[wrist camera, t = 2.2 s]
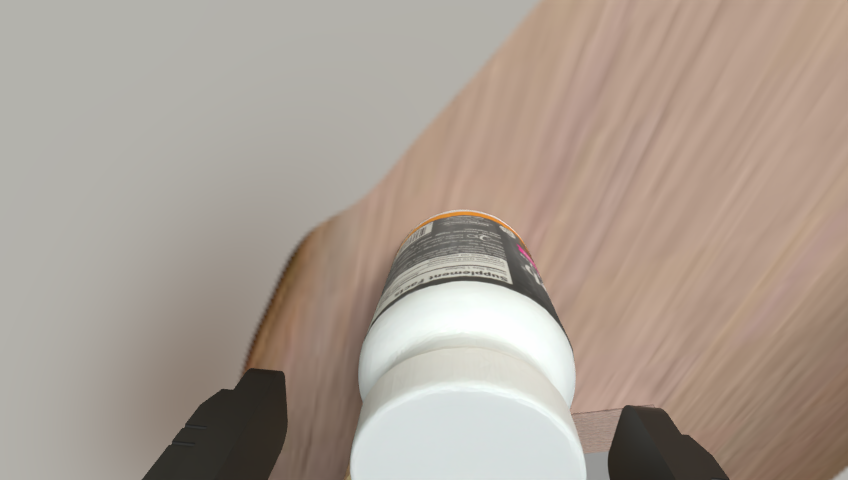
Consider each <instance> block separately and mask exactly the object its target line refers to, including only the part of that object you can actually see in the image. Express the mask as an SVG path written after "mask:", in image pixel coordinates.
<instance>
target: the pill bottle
mask: <svg viewBox="0 0 848 480" xmlns="http://www.w3.org/2000/svg"><path fill="white" fill-rule="evenodd" d="M575 379H576V374H575V364H574V355H573V349H572V346H571V344H570V341H569V339H568V337H567V334H566V333H565V330H564V328H563V326H562V324H561V322H560V320H559V318H558V316H557V314H556V312H555V309H554V307H553V305H552V303H551V300H550V298H549V295H548V293H547V291H546V289H545V287H544V284H543V282H542V280H541V277H540V275H539V272H538V270H537V268H536V266H535V264H534V261H533V259H532V257H531V255H530V253H529V251H528V249H527V247H526V245H525V244H524V242H523V241H522V239H521V238H520V236H519V235H518V234H517V233H516V232H515V231H514V230H513V229H512V228H511V227H510V226H509V225H507V224H506V223H505V222H503V221H502V220H500V219H498V218H497V217H495V216H492V215H489V214H487V213H484V212H479V211H474V210H452V211H447V212H444V213H440V214H437V215H434V216H432V217H430V218H428V219H426V220H425V221H423V222H422V223H420V224H419V225H418V226H417V227H415V228H414V229H413V230H412V231H411V232H410V233H409V235H408V236H407V237H406V238H405V240H404V241H403V243H402V245H401V246H400V248H399V250H398V252H397V254H396V257H395V259H394V262H393V264H392V267H391V270H390V273H389V275H388V278H387V280H386V284H385V287H384V289H383V292H382V295H381V298H380V300H379V303H378V305H377V308H376V311H375V313H374V316H373V319H372V321H371V324H370V326H369V329H368V331H367V334H366V336H365V339H364V342H363V345H362V348H361V352H360V359H359V370H358V380H359V390H360V394H361V398H362V401H363V405H362V408H361V412H360V416H359V420H358V424H357V428H356V432H355V435H354V439H353V443H352V448H351V455H350V476H351V480H586V477H587V473H586V462H585V458H584V453H583V449H582V446H581V442H580V439H579V436H578V433H577V430H576V427H575V424H574V421H573V418H572V416H571V413H570V410H569V409H570V407H571V403H572V400H573V396H574V391H575Z"/></svg>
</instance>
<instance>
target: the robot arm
mask: <svg viewBox="0 0 848 480" xmlns="http://www.w3.org/2000/svg"><path fill="white" fill-rule="evenodd" d="M287 423H288V419H287V402H286V385H285V375H284V373H283V372H282V371H275V370H265V369H254V368H251V369H249V370H248V371H247V372H246V373H245V374H244V376H243V377H242V378H241V380H240V381H239V383H238V384H237V386H236V387H235V388H234V390H228V389H221V390H220V391H219V392H217V393H216V394H215V395H213V396H212V397H210V398H209V399H208V400H206V401H205V402H203V403H202V404H201V405H200V406H199V407H198V409H197V410H196V411H195V412H194V414H193V415H192V416H191V418H190V419H189V420H188V421H187V423H186V424H185V428H182V429H181V430H180V432H179V433H178V434H177V435H176V437H175V438H174V439H173V441H172V444H171V445H169V446H168V447H167V448H166V449H165V451H164V452H163V454H162V455H161V456H160V457H159V459H158V460H157V461H156V462H155V464H154V465H153V466H152V467H151V469H150V470H149V471H148V473H147V474H146V475H145V476H144V478H143V479H142V480H268V478H269V476H270V474H271V471H272V469H273V467H274V465H275V463H276V461H277V458H278V456H279V454H280V452H281V450H282V447H283V444H284V441H285V437H286V432H287ZM608 473H609V478H610V480H729V478H728V477H727V475H726V474H725V473H724V471H723V470H722V468H721V467H720V466H719V464H718V463H717V461H716V460H715V459H714V457H713V456H712V455H711V454H710V453H709V452H707V451H706V450H705V449H704V448H703V447H702V446H701V445H699V444H698V443H697V442H696V441H695V440H694V439H693V438H691V437H690V436H689V435H682V434H681V433H680V432H679V430H678V429H677V427H676V426H675V424H674V423H673V421H672V420H671V418H670V417H669V415H668V414H667V413H666V412H665V411H664V410H663V409H661V408H653V407H642V406H632V405H626V406H625V407H624V408H623V409H622V411H621V414H620V418H619V421H618V424H617V427H616V431H615V434H614V437H613V440H612V443H611V447H610V450H609V453H608Z"/></svg>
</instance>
